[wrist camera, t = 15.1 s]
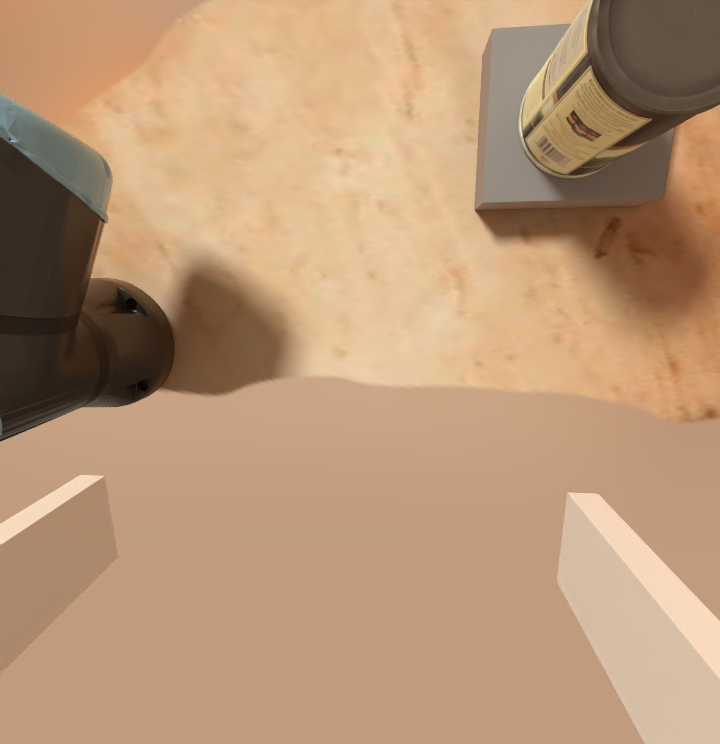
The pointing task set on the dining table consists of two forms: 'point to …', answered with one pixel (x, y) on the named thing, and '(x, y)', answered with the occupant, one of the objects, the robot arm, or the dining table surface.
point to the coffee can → (620, 82)
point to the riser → (508, 158)
